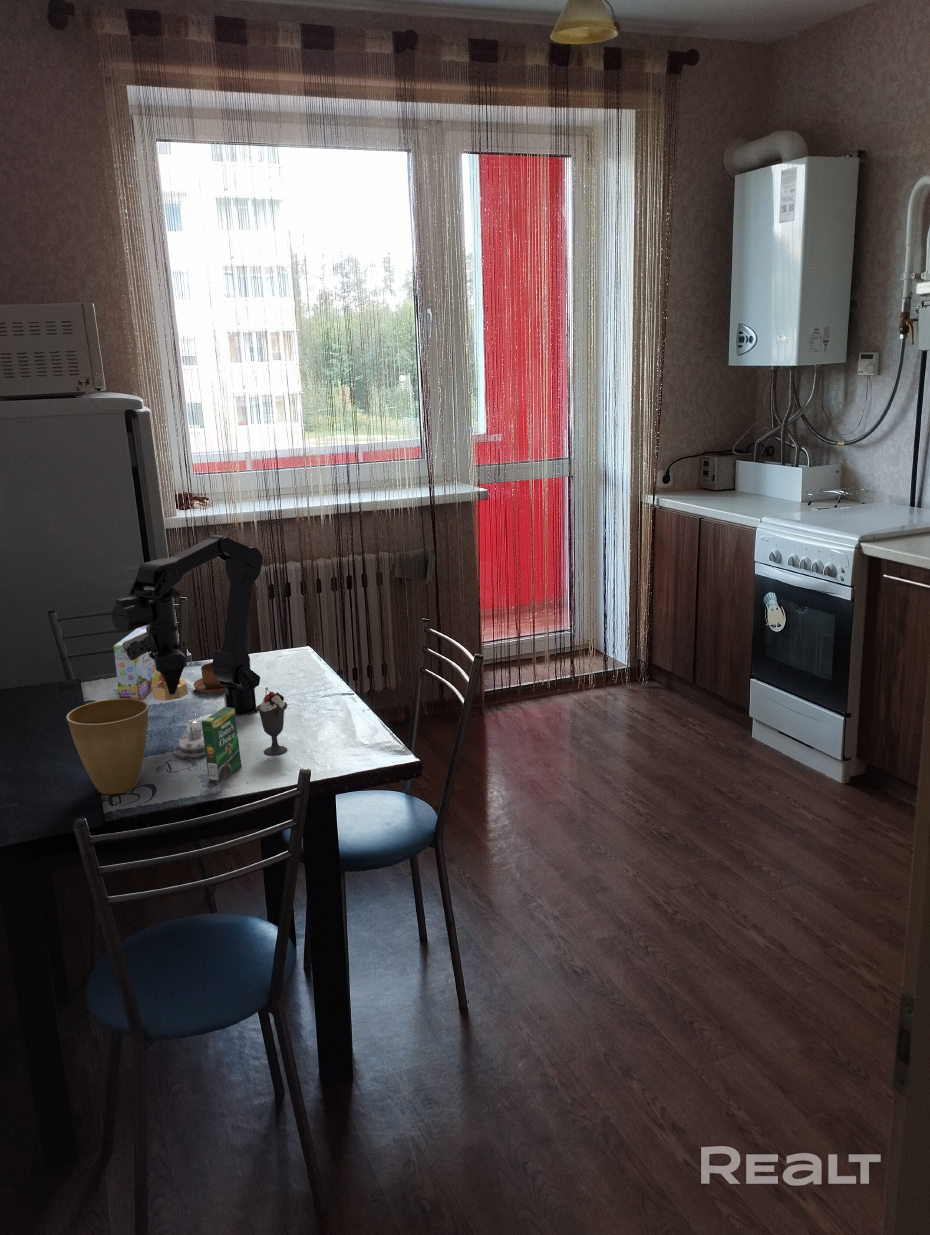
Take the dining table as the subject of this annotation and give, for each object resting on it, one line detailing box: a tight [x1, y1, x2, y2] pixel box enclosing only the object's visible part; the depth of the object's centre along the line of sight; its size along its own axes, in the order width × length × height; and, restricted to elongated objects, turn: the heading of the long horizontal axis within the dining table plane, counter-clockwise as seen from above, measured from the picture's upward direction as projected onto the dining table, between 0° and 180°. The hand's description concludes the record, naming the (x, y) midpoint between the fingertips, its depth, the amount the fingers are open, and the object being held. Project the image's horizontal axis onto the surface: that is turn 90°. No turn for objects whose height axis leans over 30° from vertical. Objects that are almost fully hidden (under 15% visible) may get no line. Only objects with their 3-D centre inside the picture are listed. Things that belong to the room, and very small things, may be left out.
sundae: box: [255, 687, 288, 756], centre depth 202 cm, size 7×7×15 cm
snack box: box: [113, 626, 163, 701], centre depth 245 cm, size 21×6×15 cm, turn 179°
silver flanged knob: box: [174, 719, 206, 760], centre depth 205 cm, size 9×9×6 cm
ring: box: [151, 678, 189, 701], centre depth 210 cm, size 7×7×2 cm
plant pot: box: [66, 698, 149, 795], centre depth 188 cm, size 15×15×16 cm
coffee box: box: [201, 706, 243, 783], centre depth 191 cm, size 8×3×13 cm, turn 159°
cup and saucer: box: [193, 662, 226, 694], centre depth 245 cm, size 12×12×6 cm
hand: (170, 689), depth 210 cm, fingers closed on ring, 7 cm apart
